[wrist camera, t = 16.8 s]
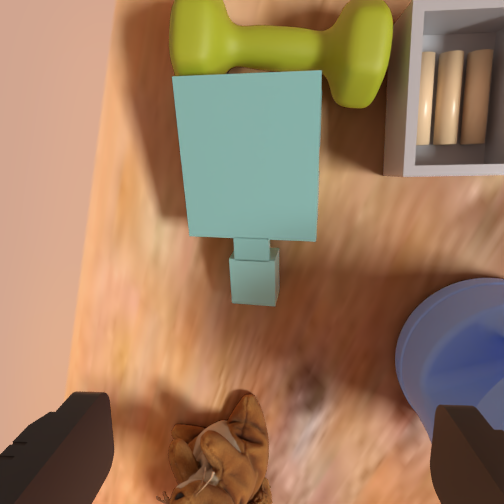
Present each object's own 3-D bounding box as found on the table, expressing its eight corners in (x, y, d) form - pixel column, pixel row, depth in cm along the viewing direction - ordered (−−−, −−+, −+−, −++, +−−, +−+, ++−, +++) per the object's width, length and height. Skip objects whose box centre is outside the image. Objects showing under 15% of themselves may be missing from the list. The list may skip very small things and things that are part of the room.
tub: (389, 29, 33) (413, -1, 27) (502, 24, 32) (551, -9, 26) (383, 175, 35) (403, 176, 29) (487, 173, 35) (529, 174, 29)
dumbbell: (183, 102, 35) (159, 84, 28) (188, 4, 34) (164, -40, 27) (367, 117, 35) (389, 104, 27) (381, 18, 33) (409, -24, 26)
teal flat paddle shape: (185, 75, 31) (171, 76, 29) (323, 70, 29) (321, 70, 27) (205, 285, 39) (196, 300, 37) (315, 293, 37) (313, 309, 34)
